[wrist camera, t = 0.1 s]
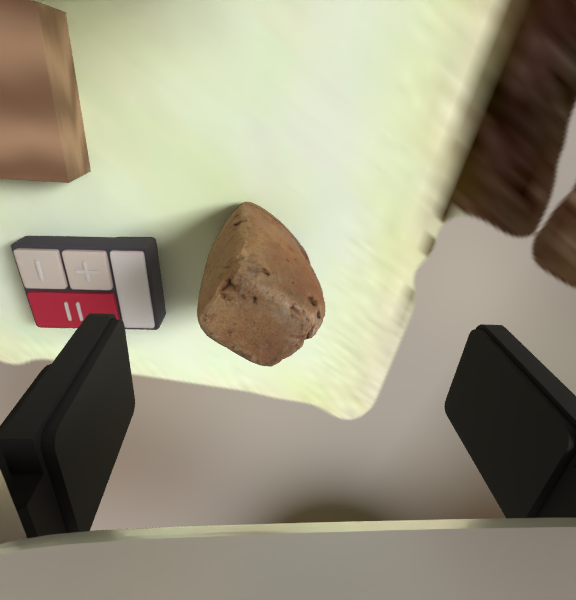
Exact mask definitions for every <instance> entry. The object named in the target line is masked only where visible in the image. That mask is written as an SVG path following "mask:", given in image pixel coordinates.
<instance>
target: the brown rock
mask: <svg viewBox="0 0 576 600" xmlns="http://www.w3.org/2000/svg"><path fill="white" fill-rule="evenodd" d="M324 316H325V302H324V298H323V292H322V289H321V286H320V283H319V281H318V279H317V277H316V274H315V273H314V270H313V269H312V267H311V265H310V261H309V258H308V256H307V253H306V251H305V250H304V248H303V247H302V246H301V245H300V243H299V242H298V241H297V239H296V238H295V237H294V236H293V234H292V233H291V232H290V231H289V230H288V229H287V228H286V227H285V226H284V225H283V224H282V223H281V222H280V221H279V220H278V219H276V218H275V217H274V216H273V215H272V214H270V213H269V212H268V211H266V210H265V209H263V208H261V207H260V206H258V205H256V204H253V203H251V202H244V203H242V204H241V205H240V206H239V207H238V208H237V209H236V210H235V211H234V212H233V213H232V214H231V216H230V217H229V219H228V220H227V221H226V223H225V224H224V226H223V227H222V229H221V231H220V233H219V234H218V236H217V238H216V240H215V242H214V244H213V246H212V249H211V251H210V253H209V256H208V259H207V263H206V266H205V271H204V275H203V279H202V283H201V288H200V292H199V298H198V307H197V317H198V322H199V324H200V327H201V328H202V330H203V331H204V332H205V334H206V335H207V336H208V337H210V338H211V339H213V340H214V341H216V342H217V343H219V344H221V345H223V346H225V347H227V348H228V349H230V350H231V351H233V352H234V353H236V354H238V355H240V356H241V357H243V358H245V359H247V360H249V361H251V362H253V363H256V364H259V365H262V366H273V365H275V364H277V363H279V362H280V361H281V360H282V359H285V358H287V357H289V356H291V355H292V354H293V353H295V352H296V351H297V350H298V349H300V348H301V347H302V346H303V343H304V340H305V339H309V338H312V337H313V336H314V335H315V334H316V332H317V330H318V329H319V328H320V326H321V324H322V322H323V318H324Z"/></svg>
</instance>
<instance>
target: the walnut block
mask: <svg viewBox="0 0 576 600" xmlns="http://www.w3.org/2000/svg"><path fill="white" fill-rule="evenodd" d="M90 171H91V170H90V163H89V157H88V151H87V145H86V138H85V132H84V126H83V119H82V113H81V107H80V101H79V94H78V88H77V82H76V76H75V69H74V63H73V57H72V50H71V44H70V38H69V32H68V25H67V19H66V13H65V12H62V11H60V10H57V9H55V8H52V7H49V6H47V5H44V4H42V3H39V2H36V1H31V0H0V179H16V180H33V181H50V182H67V183H69V182H71V181H73V180H75V179H77V178H79V177H80V176H82V175H84V174H86V173H88V172H90Z"/></svg>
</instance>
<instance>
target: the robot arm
mask: <svg viewBox="0 0 576 600" xmlns="http://www.w3.org/2000/svg"><path fill="white" fill-rule="evenodd" d="M134 407H135V398H134V390H133V383H132V376H131V369H130V362H129V355H128V348H127V341H126V334H125V327H124V322H123V320H117V318H116V316H115V315H114V314H104V313H89V314H88V315H87V316H86V318H85V319H84V320H83V322H82V323H81V325H80V326H79V327H78V329H77V330H76V331H75V333H74V334H73V336H72V337H71V338H70V340H69V341H68V342H67V344H66V345H65V347H64V348H63V349H62V351H61V352H60V353H59V355H58V356H57V357H56V359H55V360H54V362H53V363H52V364H50V365H47V366H46V367H45V368H44V369H43V370H42V371H41V372H40V373H39V375H38V376H37V378H36V379H35V380H34V382H33V383H32V384H31V385H30V387H29V388H28V390H27V391H26V392H25V394H24V395H23V396H22V398H21V399H20V400H19V402H18V403H17V404H16V406H15V407H14V408H13V410H12V411H11V412H10V414H9V415H8V416H7V418H6V419H5V420H4V422H3V423H2V424H1V426H0V600H576V396H575V395H574V394H573V393H572V392H571V391H570V390H569V389H568V388H567V387H566V386H565V385H564V384H563V383H562V382H560V380H558V378H557V377H555V376H554V375H553V374H552V373H551V372H550V371H549V370H548V369H547V368H546V367H545V366H544V365H543V364H542V363H541V362H540V361H539V360H538V359H537V358H536V357H535V356H534V355H533V354H532V353H531V352H530V351H529V350H528V349H527V348H526V347H525V346H523V345H522V343H521V342H519V341H518V340H517V339H516V338H515V337H514V336H513V335H512V334H511V333H510V332H509V331H508V330H507V329H506V328H505V327H503V326H502V325H479V326H478V327H477V328H476V329H475V330H472V331H471V332H470V334H469V337H468V340H467V342H466V345H465V348H464V351H463V353H462V356H461V359H460V362H459V365H458V367H457V370H456V373H455V376H454V379H453V381H452V384H451V387H450V390H449V392H448V395H447V398H446V401H445V412H446V414H447V416H448V418H449V420H450V422H451V423H452V425H453V427H454V429H455V430H456V432H457V434H458V435H459V437H460V439H461V441H462V442H463V444H464V446H465V448H466V449H467V451H468V453H469V454H470V456H471V458H472V460H473V461H474V463H475V465H476V466H477V468H478V470H479V472H480V473H481V475H482V477H483V479H484V480H485V482H486V484H487V485H488V487H489V489H490V491H491V492H492V494H493V496H494V498H495V499H496V501H497V503H498V504H499V506H500V508H501V509H502V511H503V513H504V515H505V517H506V519H505V518H504V519H452V520H451V519H449V520H406V521H405V520H404V521H364V522H363V521H362V522H324V523H323V522H322V523H289V524H288V523H286V524H253V525H223V526H221V525H219V526H185V527H161V528H141V529H120V530H97V531H90V528H91V526H92V523H93V520H94V518H95V515H96V512H97V510H98V507H99V504H100V502H101V499H102V496H103V493H104V491H105V488H106V485H107V483H108V480H109V477H110V475H111V472H112V469H113V467H114V464H115V461H116V459H117V456H118V453H119V451H120V448H121V445H122V442H123V440H124V437H125V434H126V432H127V429H128V426H129V424H130V421H131V418H132V416H133V412H134Z"/></svg>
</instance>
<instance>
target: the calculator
mask: <svg viewBox="0 0 576 600" xmlns="http://www.w3.org/2000/svg"><path fill="white" fill-rule="evenodd" d="M11 248H12V251H13V254H14V257H15V261H16V264H17V267H18V270H19V273H20V276H21V279H22V282H23V285H24V288H25V292H26V295H27V298H28V301H29V304H30V307H31V310H32V313H33V316H34V320H35V323H36V325H37V326H38V327H45V328H78V327H79V326H80V325H81V323H82V322H83V320H84V319H85V318H86V316H87V315H88V314H89V313H104V314H114V315H115V316H116V318H117V320H123V322H124V327H125V329H147V330H157V329H158V328H159V327H160V325H161V323H162V321H163V319H164V317H165V315H166V312H165V304H164V296H163V289H162V281H161V274H160V266H159V259H158V251H157V243H156V239H155V238H153V237H116V238H107V237H71V236H25V237H23V238H22V239H20V240H18V241H17V242H15V243H13V244H12V245H11Z"/></svg>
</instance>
